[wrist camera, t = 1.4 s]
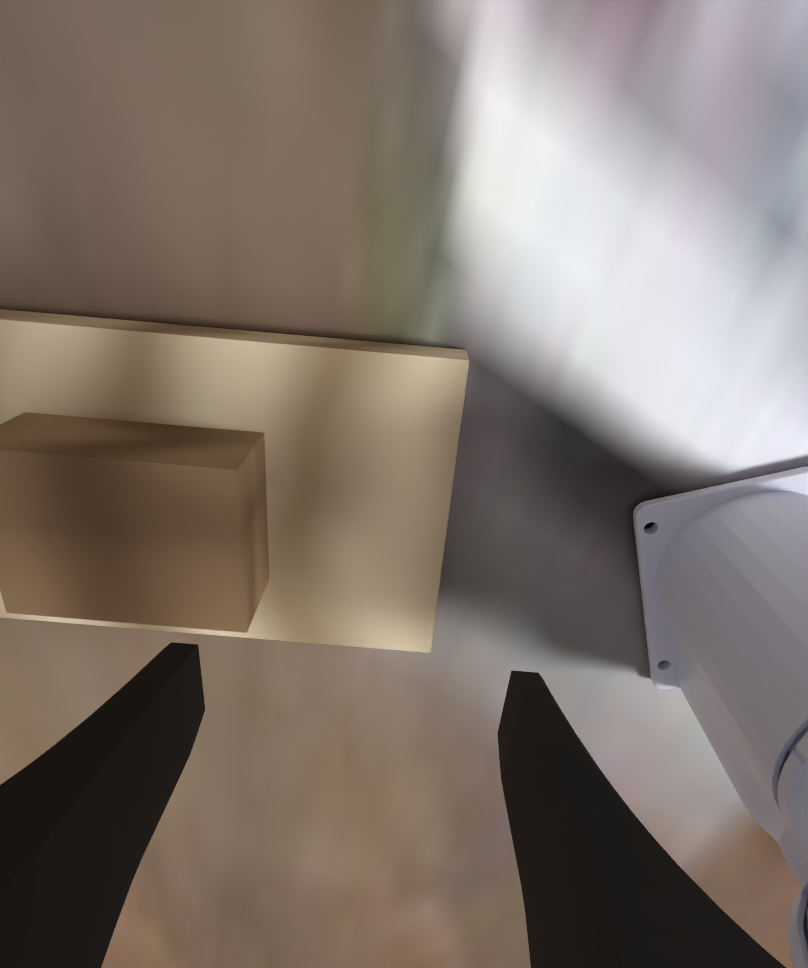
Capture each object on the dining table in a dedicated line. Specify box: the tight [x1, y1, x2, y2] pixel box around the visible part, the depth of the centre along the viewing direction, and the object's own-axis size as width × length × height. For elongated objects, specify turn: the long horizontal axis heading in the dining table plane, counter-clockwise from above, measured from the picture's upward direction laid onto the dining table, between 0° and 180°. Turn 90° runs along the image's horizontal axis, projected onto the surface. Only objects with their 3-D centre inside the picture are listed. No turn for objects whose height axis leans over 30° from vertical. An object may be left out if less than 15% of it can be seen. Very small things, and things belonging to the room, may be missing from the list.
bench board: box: [0, 309, 469, 653], centre depth 20 cm, size 22×12×2 cm, turn 85°
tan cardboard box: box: [0, 412, 269, 633], centre depth 18 cm, size 8×6×3 cm
